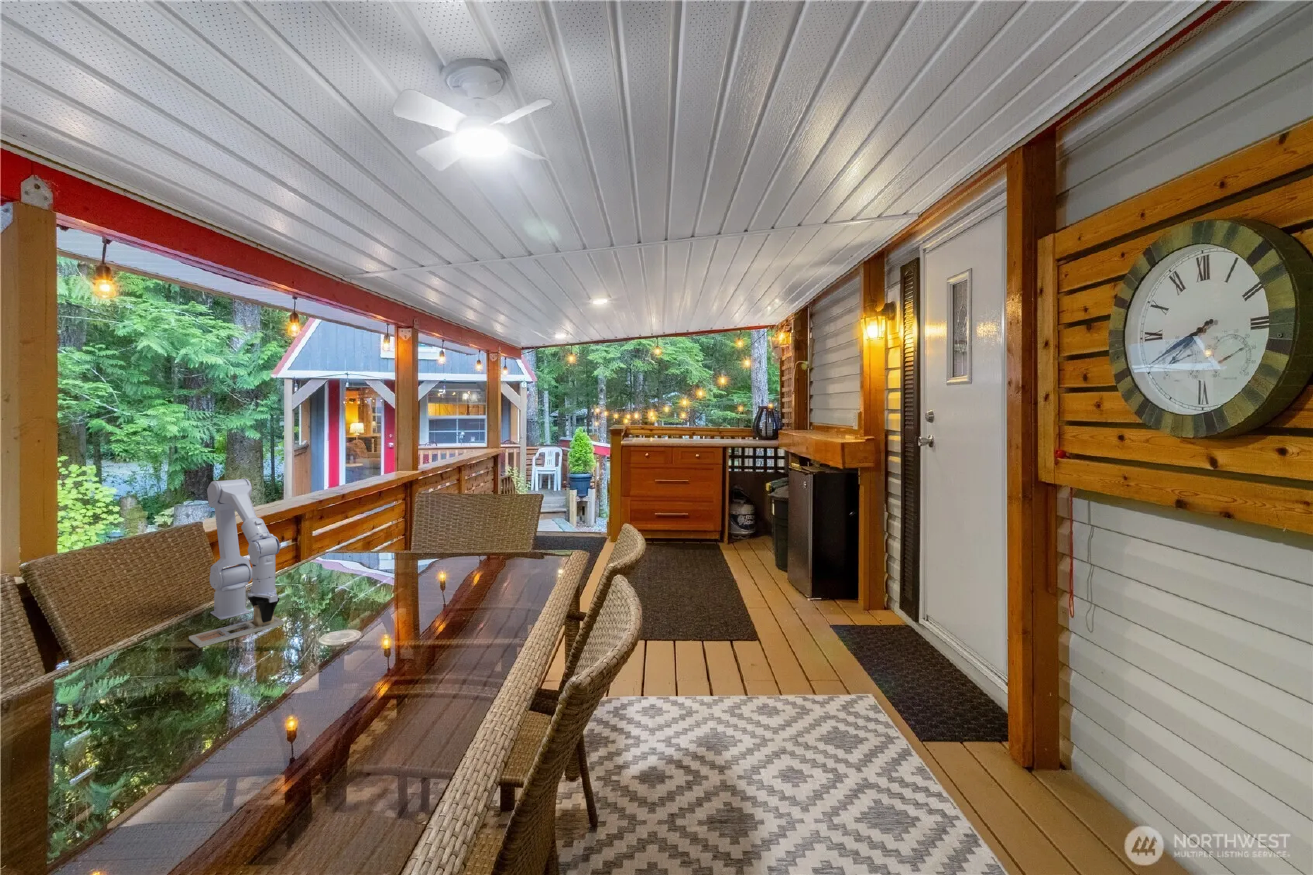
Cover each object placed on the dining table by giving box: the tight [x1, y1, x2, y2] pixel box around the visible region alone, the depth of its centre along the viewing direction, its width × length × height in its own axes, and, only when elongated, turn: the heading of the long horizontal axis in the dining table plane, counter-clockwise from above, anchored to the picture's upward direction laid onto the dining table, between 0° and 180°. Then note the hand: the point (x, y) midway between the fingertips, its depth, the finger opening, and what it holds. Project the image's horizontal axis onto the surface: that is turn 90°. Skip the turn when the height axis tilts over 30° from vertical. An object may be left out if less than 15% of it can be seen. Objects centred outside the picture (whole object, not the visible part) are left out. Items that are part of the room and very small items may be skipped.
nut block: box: [253, 605, 275, 626], centre depth 161 cm, size 4×4×6 cm
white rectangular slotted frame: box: [188, 615, 285, 648], centre depth 155 cm, size 8×20×1 cm, turn 147°
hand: (263, 619), depth 161 cm, fingers closed on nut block, 4 cm apart
